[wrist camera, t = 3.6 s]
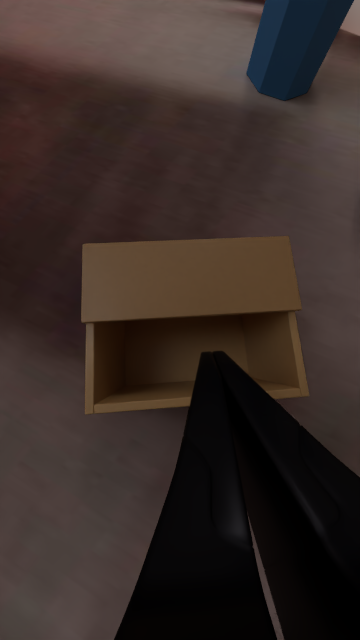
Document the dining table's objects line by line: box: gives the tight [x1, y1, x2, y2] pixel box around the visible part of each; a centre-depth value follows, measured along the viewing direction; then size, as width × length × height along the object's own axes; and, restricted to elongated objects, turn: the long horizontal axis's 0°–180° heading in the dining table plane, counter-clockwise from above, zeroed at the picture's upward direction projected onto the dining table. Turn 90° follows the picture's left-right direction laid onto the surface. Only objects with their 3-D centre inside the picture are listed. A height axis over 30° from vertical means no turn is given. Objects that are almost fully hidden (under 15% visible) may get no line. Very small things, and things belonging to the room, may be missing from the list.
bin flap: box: [81, 236, 302, 324], centre depth 12 cm, size 5×13×1 cm, turn 94°
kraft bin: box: [85, 311, 309, 414], centre depth 17 cm, size 10×13×9 cm
